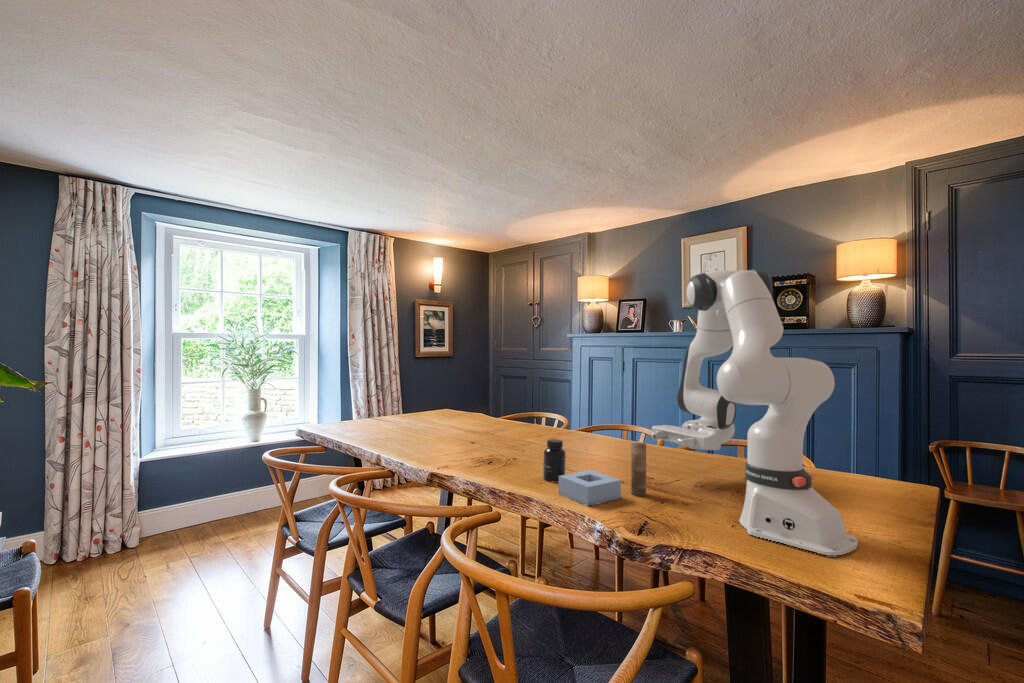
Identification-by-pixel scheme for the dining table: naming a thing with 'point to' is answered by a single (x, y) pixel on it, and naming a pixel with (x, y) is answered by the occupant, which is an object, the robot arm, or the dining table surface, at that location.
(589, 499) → the socket block
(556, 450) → the supplement bottle
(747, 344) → the robot arm
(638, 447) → the dowel
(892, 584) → the dining table surface
